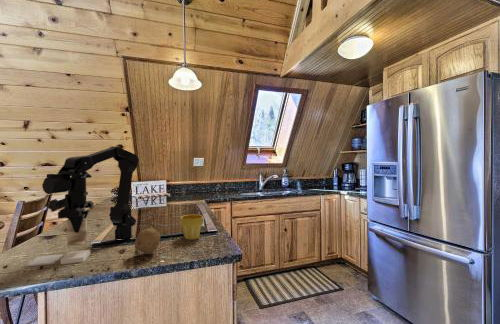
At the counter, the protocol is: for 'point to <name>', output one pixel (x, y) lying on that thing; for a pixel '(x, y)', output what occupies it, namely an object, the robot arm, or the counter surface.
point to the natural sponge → (147, 241)
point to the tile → (75, 256)
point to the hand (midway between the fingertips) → (77, 231)
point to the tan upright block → (76, 234)
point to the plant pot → (191, 226)
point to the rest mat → (44, 260)
